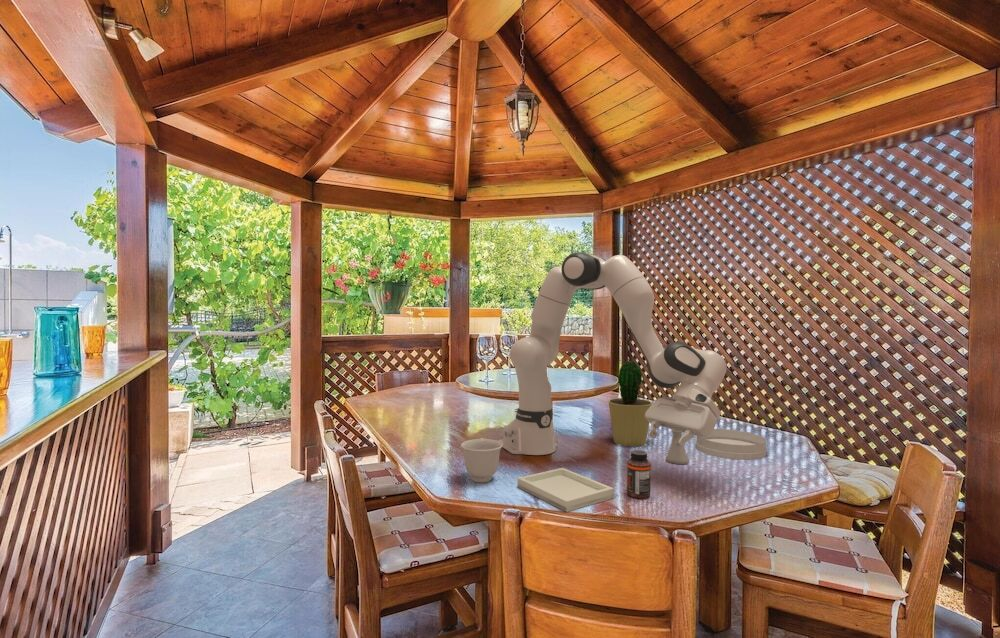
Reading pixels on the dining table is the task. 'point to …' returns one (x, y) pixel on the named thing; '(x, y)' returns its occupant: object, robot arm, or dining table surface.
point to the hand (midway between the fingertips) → (664, 440)
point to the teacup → (481, 458)
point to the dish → (732, 444)
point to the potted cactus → (629, 408)
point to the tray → (565, 489)
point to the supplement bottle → (638, 475)
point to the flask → (676, 451)
